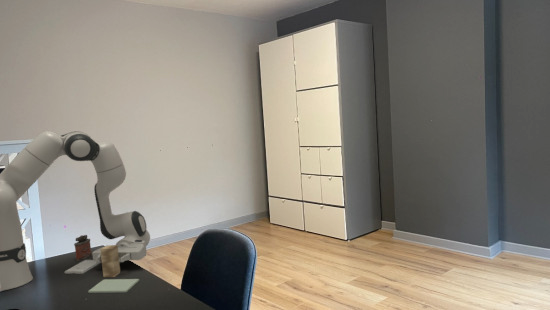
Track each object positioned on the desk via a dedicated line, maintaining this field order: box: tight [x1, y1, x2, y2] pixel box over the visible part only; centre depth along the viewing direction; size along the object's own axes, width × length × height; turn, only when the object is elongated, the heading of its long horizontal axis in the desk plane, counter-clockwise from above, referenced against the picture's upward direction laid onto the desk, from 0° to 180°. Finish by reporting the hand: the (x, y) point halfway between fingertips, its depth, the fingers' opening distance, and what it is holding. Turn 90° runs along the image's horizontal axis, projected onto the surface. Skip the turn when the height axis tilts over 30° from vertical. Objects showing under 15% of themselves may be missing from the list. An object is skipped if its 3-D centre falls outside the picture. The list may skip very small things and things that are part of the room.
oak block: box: [100, 244, 121, 278], centre depth 160 cm, size 4×4×11 cm
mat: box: [87, 278, 140, 294], centre depth 148 cm, size 14×10×1 cm
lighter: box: [73, 234, 93, 262], centre depth 183 cm, size 8×3×10 cm, turn 162°
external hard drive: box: [64, 259, 102, 275], centre depth 170 cm, size 2×8×12 cm
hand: (109, 260), depth 159 cm, fingers open, 8 cm apart
